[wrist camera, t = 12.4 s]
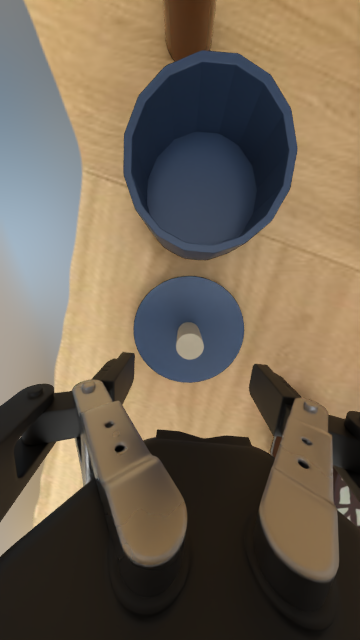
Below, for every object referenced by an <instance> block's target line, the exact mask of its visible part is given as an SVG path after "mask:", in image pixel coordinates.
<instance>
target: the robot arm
mask: <svg viewBox="0 0 360 640" xmlns="http://www.w3.org/2000/svg"><path fill="white" fill-rule="evenodd" d="M134 360H135V355H134V353H126V352H122V354H121V355H120V356H119V357H118V358H117V359H112V360H110V361H108V362H107V363H106V364H105V365H104V366H103V367H102V368H101V369H100V371H99V372H98V373H97V374H96V375H95V376H94V377H93V378H92V379H91V380H86V381H82V382H80V383H78V384H77V385H75V386H74V387H73V390H72V391H69V392H61V393H54V387H53V386H52V385H49V384H37V385H33V386H30V387H27V388H25V389H23V390H22V391H20V392H18V393H17V394H16V395H15V396H13V397H12V398H11V399H9V400H8V401H7V402H5V403H4V404H3V405H1V406H0V522H1V520H2V519H3V517H4V516H5V515H6V513H7V512H8V510H9V509H10V507H11V506H12V505H13V503H14V502H15V500H16V499H17V497H18V496H19V495H20V493H21V491H22V490H23V489H24V487H25V486H26V484H27V483H28V482H29V480H30V478H31V477H32V476H33V474H34V473H35V472H36V470H37V469H38V467H39V466H40V464H41V463H42V461H43V460H44V459H45V457H46V456H47V454H48V453H49V452H50V450H51V449H52V447H53V446H54V444H55V443H56V441H61V440H66V439H71V438H75V442H76V447H77V452H78V456H79V461H80V466H81V471H82V478H83V487H82V488H81V489H80V490H79V491H78V492H76V493H75V494H74V495H73V496H72V497H70V498H69V499H68V500H67V501H66V502H64V503H63V504H62V505H61V506H60V507H58V508H57V509H56V510H55V511H54V512H52V513H51V514H50V515H49V516H48V517H46V518H45V519H44V520H43V521H41V522H40V523H39V524H38V525H37V526H35V527H34V528H33V529H32V530H31V531H30V532H28V533H27V534H26V535H25V536H23V537H22V538H21V539H20V540H19V541H17V542H16V543H15V544H14V545H13V546H12V547H10V548H9V549H8V550H7V551H6V552H5V553H4V554H2V555H1V557H0V640H360V529H359V528H358V527H357V526H356V525H355V524H354V523H352V522H351V521H350V520H349V519H348V518H346V517H345V516H344V515H343V514H342V513H340V512H339V511H338V510H337V508H336V506H335V505H334V501H333V467H334V468H335V470H336V471H337V472H338V474H339V475H340V476H341V478H342V479H343V481H344V482H345V483H346V485H347V486H348V487H349V489H350V490H351V492H352V493H353V494H354V496H355V497H356V498H357V500H358V501H359V503H360V412H356V411H349V412H348V413H347V415H346V418H345V419H342V418H338V417H335V416H331V415H328V411H327V410H326V409H325V408H324V407H323V406H322V405H320V404H319V403H317V402H315V401H312V400H310V399H306V398H302V397H301V396H300V395H299V394H298V393H297V392H296V391H295V390H294V389H293V388H292V387H291V386H290V385H289V384H288V383H287V382H286V381H285V380H284V379H283V378H282V377H281V376H279V375H277V374H276V373H274V372H273V371H272V370H271V369H270V368H269V367H268V366H267V365H261V364H254V366H253V369H252V374H251V380H250V385H249V391H250V395H251V397H252V398H253V400H254V402H255V404H256V405H257V407H258V409H259V411H260V413H261V414H262V416H263V418H264V420H265V421H266V423H267V425H268V427H269V429H270V430H271V432H272V434H273V436H278V437H282V439H281V442H280V445H279V448H278V451H277V454H276V457H273V456H272V455H270V454H269V453H267V452H265V451H263V450H261V449H259V448H256V447H254V446H252V445H251V442H250V440H249V438H248V437H237V436H220V437H213V438H205V439H204V438H199V437H196V436H193V435H190V434H186V433H183V432H180V431H168V430H157V435H156V437H154V438H150V439H146V440H144V441H143V440H142V438H141V436H140V435H139V433H138V431H137V430H136V428H135V426H134V425H133V423H132V421H131V419H130V418H129V416H128V414H127V413H126V411H125V409H124V408H123V406H122V404H123V402H124V400H125V398H126V396H127V394H128V392H129V390H130V388H131V386H132V383H133V379H134ZM21 436H22V437H21ZM20 437H21V438H20ZM19 438H20V439H19ZM18 439H19V440H18Z"/></svg>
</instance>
